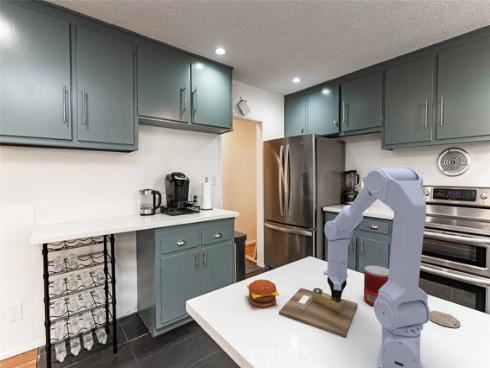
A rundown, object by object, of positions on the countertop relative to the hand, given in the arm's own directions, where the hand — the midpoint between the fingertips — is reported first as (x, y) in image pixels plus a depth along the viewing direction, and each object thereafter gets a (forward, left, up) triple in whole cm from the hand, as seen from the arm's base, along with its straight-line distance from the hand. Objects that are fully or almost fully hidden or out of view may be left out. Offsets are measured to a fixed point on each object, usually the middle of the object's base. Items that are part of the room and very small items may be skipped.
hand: (336, 301), depth 78 cm
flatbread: (+11, -27, -3) cm, 30 cm away
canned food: (+11, -10, -3) cm, 15 cm away
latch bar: (-2, +2, -1) cm, 3 cm away
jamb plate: (-4, +4, -2) cm, 6 cm away
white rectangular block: (-6, +8, -1) cm, 10 cm away
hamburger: (-9, +22, -3) cm, 23 cm away
